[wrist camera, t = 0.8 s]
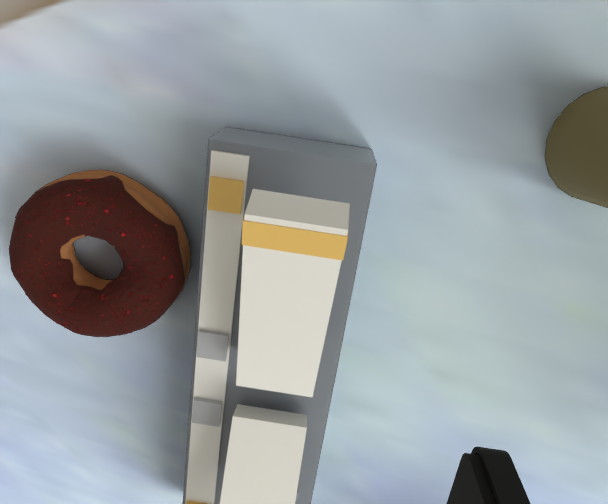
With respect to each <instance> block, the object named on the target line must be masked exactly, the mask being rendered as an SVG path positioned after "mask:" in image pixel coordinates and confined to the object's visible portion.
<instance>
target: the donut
mask: <svg viewBox="0 0 608 504" xmlns="http://www.w3.org/2000/svg"><path fill="white" fill-rule="evenodd" d="M15 218H16V219H15V223H14V227H13V231H12V235H11V241H10V246H9V254H10V263H11V270H12V272H13V275H14V277H15V278H16V280H17V281H18V283H19V284H20V286H21V287H22V288H23V290H24V291H25V293H26V295H27V296H28V297H29V299H30V300H31V301H32V302H33V303H34V304H35V305H36V306H37V307H38V308H39V309H40V311H42V312H43V313H44V314H45V315H46V316H48V317H49V318H50V319H52V320H53V321H55V323H57V324H60V325H62V326H63V327H64V328H67V329H69V330H70V331H72V332H74V333H77V334H81V335H87V336H94V337H110V336H117V335H123V334H128V333H132V332H134V331H137V330H140V329H143V328H145V327H147V326H149V325H150V324H152V323H154V322H155V321H156V320H158V319H159V318H160V317H161V316H162V315H163V314H164V313H165V312H166V310H167V309H168V308H169V307H170V306H171V304H172V303H173V302H174V301H175V299H176V298H177V297H178V295H179V294H180V293H181V291H182V290H183V288H184V285H185V282H186V279H187V276H188V273H189V270H190V255H191V254H190V247H189V242H188V239H187V237H186V234H185V231H184V228H183V225H182V223H181V220H180V219H179V217H178V216H177V214H176V213H175V212H174V210H173V209H172V208H171V207H170V206H169V205H168V204H167V203H166V202H165V201H164V200H163V199H162V198H160V197H159V196H157V195H156V194H154V193H153V192H151V191H150V190H149V189H147V188H146V187H144V186H143V185H141V184H140V183H138V182H136V181H135V180H133V179H132V178H130V177H128V176H125V175H122V174H119V173H116V172H111V171H107V170H90V171H83V172H77V173H73V174H69V175H67V176H65V177H62V178H60V179H57V180H55V181H53V182H51V183H49V184H47V185H45V186H44V187H42V188H41V189H39V190H38V191H36V192H35V193H34V194H33V195H32V196H31V197H30V198H29V199H28V201H27V202H26V203H25V204H24V205H23V206H22V207H21V208H20V209H19V211H18V213H17V215H16V217H15ZM85 236H92V237H95V238H99V239H103V240H106V241H107V242H109V243H110V244H111V245H113V246H114V247H115V249H116V250H117V251H118V253H119V255H120V256H121V258H122V260H123V269H122V271H121V273H120V274H119V276H118V278H117V277H116V279H114V280H105V279H102V278H98V277H96V276H94V275H93V274H91V273H90V272H88V271H87V270H86V269H84V268H83V266H82V265H81V264H80V262H79V260H78V259H77V257H76V254H75V250H74V244H73V242H74V241H75V240H77V239H79V238H82V237H85Z"/></svg>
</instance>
